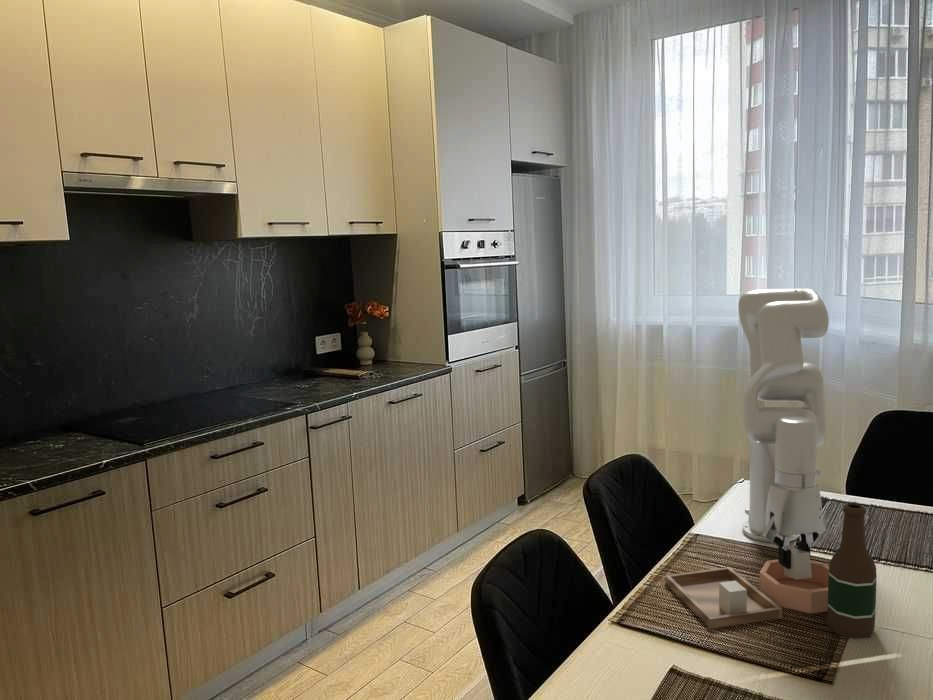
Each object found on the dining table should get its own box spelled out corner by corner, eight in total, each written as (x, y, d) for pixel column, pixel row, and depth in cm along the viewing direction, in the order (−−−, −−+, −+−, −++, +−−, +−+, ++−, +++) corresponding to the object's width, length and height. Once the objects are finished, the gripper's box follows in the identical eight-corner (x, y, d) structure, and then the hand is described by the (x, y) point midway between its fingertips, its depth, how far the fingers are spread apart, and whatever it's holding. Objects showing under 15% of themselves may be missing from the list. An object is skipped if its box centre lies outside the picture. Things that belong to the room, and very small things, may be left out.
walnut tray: (665, 586, 152) (665, 575, 152) (729, 577, 155) (729, 566, 155) (710, 631, 134) (710, 619, 134) (782, 620, 137) (782, 608, 136)
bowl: (747, 584, 151) (747, 563, 151) (810, 576, 154) (810, 555, 153) (790, 619, 137) (790, 595, 136) (858, 609, 139) (859, 585, 139)
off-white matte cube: (784, 575, 147) (781, 550, 148) (799, 573, 148) (797, 548, 148) (796, 579, 143) (793, 554, 144) (812, 577, 144) (809, 552, 144)
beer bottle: (870, 623, 134) (874, 499, 131) (879, 645, 127) (883, 515, 124) (824, 617, 137) (827, 496, 134) (830, 639, 130) (833, 512, 126)
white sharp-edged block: (719, 606, 142) (719, 582, 141) (735, 604, 142) (735, 580, 142) (729, 616, 138) (729, 592, 137) (746, 614, 138) (746, 589, 138)
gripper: (820, 469, 149) (818, 553, 152) (747, 476, 147) (746, 562, 149) (845, 479, 142) (842, 567, 144) (768, 487, 139) (767, 577, 142)
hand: (794, 564), depth 147 cm, fingers closed on off-white matte cube, 3 cm apart
